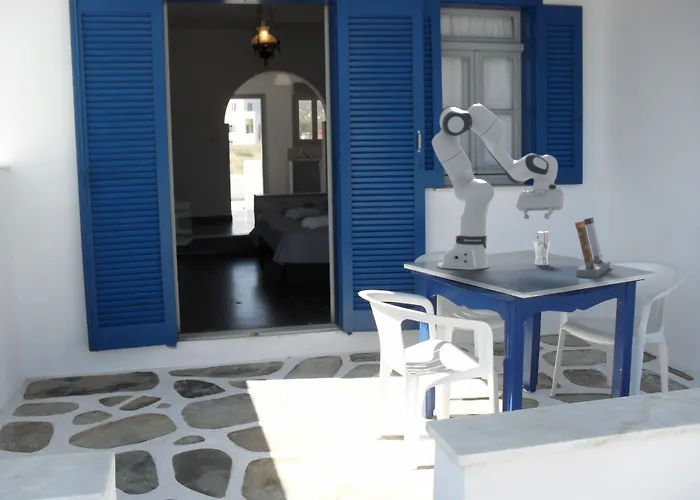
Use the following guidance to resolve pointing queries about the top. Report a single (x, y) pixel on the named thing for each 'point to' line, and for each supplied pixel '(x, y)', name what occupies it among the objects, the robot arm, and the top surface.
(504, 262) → the top surface
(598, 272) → the plinth
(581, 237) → the walnut lever
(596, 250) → the metal lever
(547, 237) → the beer glass
